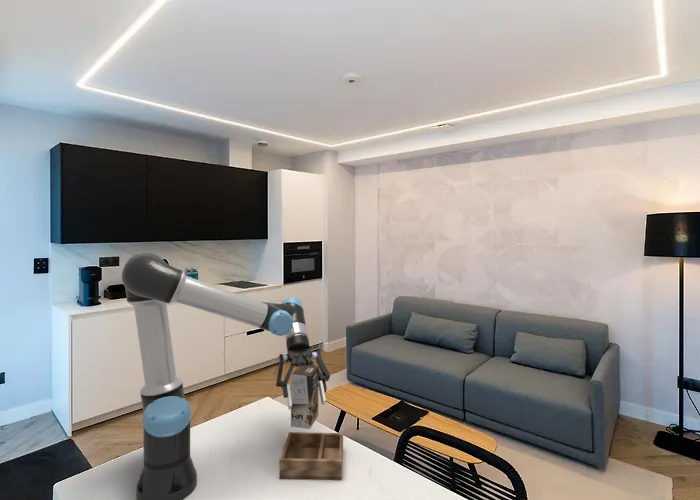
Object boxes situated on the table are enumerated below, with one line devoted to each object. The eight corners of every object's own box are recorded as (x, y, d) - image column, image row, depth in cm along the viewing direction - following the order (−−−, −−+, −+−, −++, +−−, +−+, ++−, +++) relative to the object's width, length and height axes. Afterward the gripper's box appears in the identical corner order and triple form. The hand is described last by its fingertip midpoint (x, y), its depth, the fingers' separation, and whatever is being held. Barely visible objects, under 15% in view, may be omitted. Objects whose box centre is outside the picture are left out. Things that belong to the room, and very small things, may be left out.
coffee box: (310, 429, 113) (311, 375, 113) (289, 427, 114) (290, 374, 114) (319, 415, 122) (319, 365, 121) (299, 413, 123) (300, 364, 123)
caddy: (279, 478, 110) (279, 460, 110) (288, 448, 126) (288, 432, 126) (341, 480, 110) (341, 461, 110) (343, 449, 126) (343, 433, 126)
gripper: (326, 342, 136) (339, 405, 121) (262, 347, 128) (268, 415, 114) (330, 331, 130) (345, 395, 116) (264, 336, 123) (271, 405, 109)
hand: (307, 405), depth 115 cm, fingers closed on coffee box, 10 cm apart
